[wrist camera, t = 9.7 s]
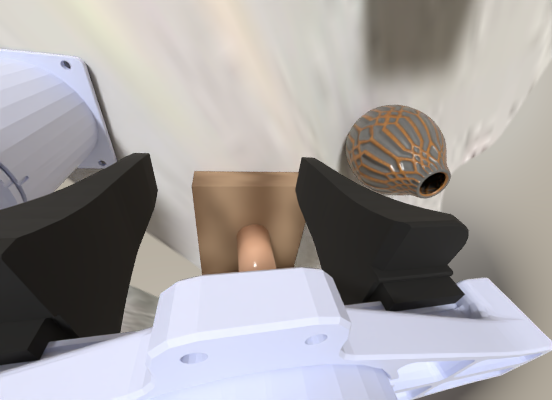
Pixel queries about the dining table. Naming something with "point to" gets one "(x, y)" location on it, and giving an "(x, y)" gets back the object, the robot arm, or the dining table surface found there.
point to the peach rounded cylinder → (254, 249)
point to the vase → (398, 152)
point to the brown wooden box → (245, 215)
